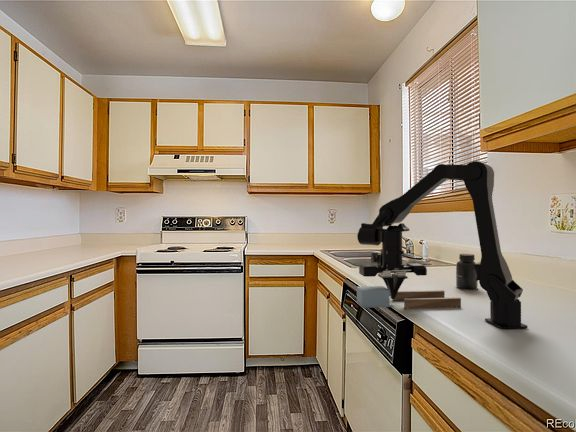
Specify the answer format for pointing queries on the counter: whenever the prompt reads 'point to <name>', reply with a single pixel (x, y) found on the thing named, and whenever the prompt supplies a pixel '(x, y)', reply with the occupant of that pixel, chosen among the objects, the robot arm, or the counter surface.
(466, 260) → the supplement bottle
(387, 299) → the slate block
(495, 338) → the counter surface
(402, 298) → the trap channel
